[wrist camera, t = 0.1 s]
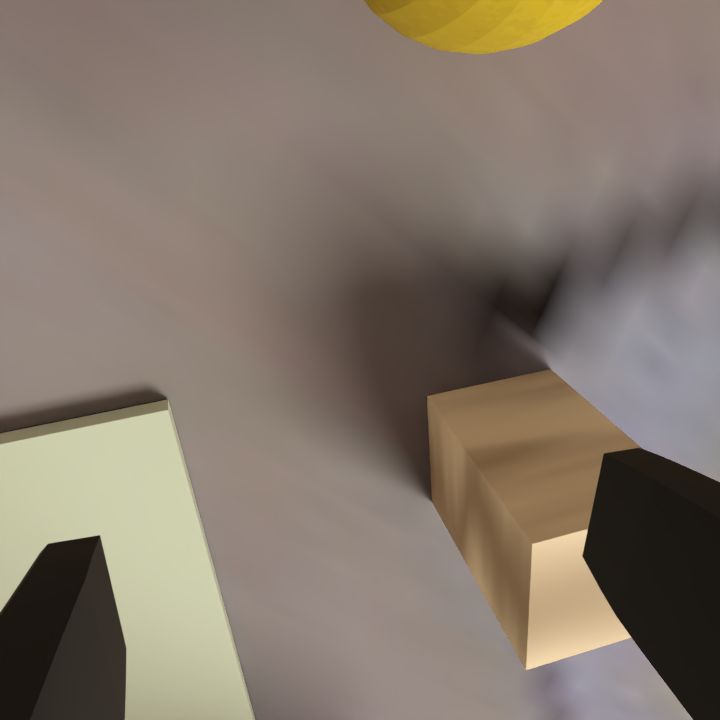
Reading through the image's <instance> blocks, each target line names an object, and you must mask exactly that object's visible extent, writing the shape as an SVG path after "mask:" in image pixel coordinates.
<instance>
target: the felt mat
mask: <svg viewBox="0 0 720 720" xmlns="http://www.w3.org/2000/svg"><path fill="white" fill-rule="evenodd" d="M98 535H100V537H101V541H102V546H103V550H104V554H105V558H106V563H107V567H108V571H109V576H110V580H111V584H112V589H113V593H114V597H115V601H116V606H117V610H118V614H119V619H120V623H121V627H122V632H123V636H124V640H125V644H126V698H125V720H255V717H254V713H253V709H252V706H251V702H250V698H249V695H248V691H247V687H246V684H245V680H244V676H243V673H242V669H241V665H240V662H239V658H238V654H237V651H236V647H235V643H234V640H233V636H232V632H231V629H230V625H229V621H228V618H227V614H226V610H225V607H224V603H223V599H222V595H221V592H220V588H219V584H218V581H217V577H216V573H215V570H214V566H213V562H212V559H211V555H210V551H209V548H208V544H207V540H206V537H205V533H204V529H203V526H202V522H201V518H200V515H199V511H198V507H197V504H196V500H195V496H194V493H193V489H192V485H191V482H190V478H189V474H188V471H187V467H186V463H185V460H184V456H183V452H182V449H181V445H180V441H179V438H178V434H177V430H176V426H175V423H174V419H173V415H172V412H171V408H170V404H169V401H168V400H163V401H158V402H153V403H148V404H143V405H138V406H133V407H128V408H123V409H118V410H114V411H109V412H104V413H99V414H94V415H89V416H84V417H79V418H74V419H69V420H64V421H59V422H54V423H50V424H45V425H40V426H35V427H30V428H25V429H20V430H15V431H10V432H5V433H0V612H1V611H2V609H3V608H4V606H5V605H6V603H7V602H8V600H9V599H10V597H11V596H12V594H13V593H14V591H15V590H16V588H17V587H18V585H19V584H20V582H21V581H22V579H23V578H24V576H25V575H26V573H27V572H28V570H29V569H30V567H31V566H32V564H33V563H34V561H35V560H36V558H37V557H38V555H39V554H40V552H41V551H42V550H43V549H44V548H45V547H46V545H47V544H49V543H55V542H61V541H67V540H74V539H80V538H86V537H92V536H98Z"/></svg>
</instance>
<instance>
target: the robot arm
mask: <svg viewBox="0 0 720 720" xmlns="http://www.w3.org/2000/svg"><path fill="white" fill-rule="evenodd" d="M582 557H583V558H584V560H585V562H586V564H587V566H588V568H589V569H590V571H591V573H592V575H593V577H594V579H595V580H596V582H597V584H598V586H599V588H600V590H601V591H602V593H603V595H604V596H605V598H606V600H607V601H608V603H609V605H610V606H611V608H612V610H613V611H614V613H615V615H616V617H617V618H618V619H619V621H620V622H621V624H622V625H623V626H624V628H625V629H626V630H627V632H628V633H629V635H630V636H631V637H632V639H633V640H634V641H635V643H636V644H637V645H638V647H639V648H640V649H641V651H642V652H643V653H644V655H645V656H646V658H647V659H648V660H649V662H650V663H651V664H652V666H653V667H654V668H655V670H656V671H657V672H658V674H659V675H660V676H661V678H662V679H663V680H664V682H665V683H666V684H667V685H668V687H669V688H670V689H671V691H672V692H673V693H674V695H675V696H676V697H677V699H678V700H679V701H680V703H681V704H682V705H683V707H684V708H685V709H686V711H687V712H688V713H689V715H690V716H691V717H692V719H693V720H720V482H718V481H715V480H713V479H711V478H709V477H707V476H705V475H702V474H700V473H698V472H696V471H694V470H691V469H689V468H687V467H685V466H682V465H680V464H678V463H676V462H673V461H671V460H669V459H666V458H664V457H662V456H659V455H657V454H654V453H652V452H649V451H646V450H644V449H641V448H634V449H628V450H622V451H615V452H609V453H604V455H603V459H602V464H601V469H600V474H599V479H598V483H597V488H596V493H595V498H594V503H593V507H592V512H591V517H590V522H589V527H588V531H587V536H586V541H585V546H584V551H583V555H582ZM125 698H126V644H125V640H124V636H123V632H122V627H121V623H120V619H119V614H118V610H117V606H116V601H115V597H114V593H113V589H112V584H111V580H110V576H109V571H108V567H107V563H106V558H105V554H104V550H103V546H102V541H101V537H100V535H98V536H92V537H86V538H80V539H74V540H67V541H61V542H55V543H49V544H47V545H46V547H45V548H44V549H43V550H42V551H41V552H40V554H39V555H38V557H37V558H36V560H35V561H34V563H33V564H32V566H31V567H30V569H29V570H28V572H27V573H26V575H25V576H24V578H23V579H22V581H21V582H20V584H19V585H18V587H17V588H16V590H15V591H14V593H13V594H12V596H11V597H10V599H9V600H8V602H7V603H6V605H5V606H4V608H3V609H2V611H1V612H0V720H125Z"/></svg>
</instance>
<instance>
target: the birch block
mask: <svg viewBox="0 0 720 720" xmlns="http://www.w3.org/2000/svg"><path fill="white" fill-rule="evenodd" d="M427 408H428V428H429V449H430V470H431V490H432V503H433V504H434V506H435V508H436V510H437V512H438V513H439V515H440V517H441V519H442V520H443V522H444V524H445V526H446V528H447V529H448V531H449V533H450V535H451V537H452V538H453V540H454V542H455V544H456V546H457V547H458V549H459V551H460V553H461V554H462V556H463V558H464V560H465V562H466V563H467V565H468V567H469V569H470V571H471V572H472V574H473V576H474V578H475V580H476V581H477V583H478V585H479V587H480V589H481V590H482V592H483V594H484V596H485V597H486V599H487V601H488V603H489V605H490V606H491V608H492V610H493V612H494V614H495V615H496V617H497V619H498V621H499V623H500V624H501V626H502V628H503V630H504V631H505V633H506V635H507V637H508V639H509V640H510V642H511V644H512V646H513V648H514V649H515V651H516V653H517V655H518V657H519V658H520V660H521V662H522V664H523V665H524V667H525V669H526V670H528V669H531V668H535V667H538V666H541V665H544V664H547V663H551V662H554V661H557V660H560V659H564V658H567V657H570V656H573V655H576V654H580V653H583V652H586V651H589V650H592V649H596V648H599V647H602V646H605V645H609V644H612V643H615V642H618V641H621V640H625V639H628V638H631V636H630V635H629V633H628V632H627V630H626V629H625V628H624V626H623V625H622V624H621V622H620V621H619V619H618V618H617V617H616V615H615V613H614V611H613V610H612V608H611V606H610V605H609V603H608V601H607V600H606V598H605V596H604V595H603V593H602V591H601V590H600V588H599V586H598V584H597V582H596V580H595V579H594V577H593V575H592V573H591V571H590V569H589V568H588V566H587V564H586V562H585V560H584V558H583V557H582V555H583V551H584V546H585V541H586V536H587V531H588V527H589V522H590V517H591V512H592V507H593V503H594V498H595V493H596V488H597V483H598V479H599V474H600V469H601V464H602V459H603V455H604V453H609V452H615V451H622V450H628V449H634V448H641V447H640V446H639V445H637V444H636V443H635V442H634V441H633V440H632V439H631V438H629V437H628V436H627V435H626V434H625V433H624V432H622V431H621V430H620V429H619V428H618V427H617V426H616V425H614V424H613V423H612V422H611V421H610V420H609V419H607V418H606V417H605V416H604V415H603V414H602V413H601V412H599V411H598V410H597V409H596V408H595V407H594V406H592V405H591V404H590V403H589V402H588V401H587V400H586V399H584V398H583V397H582V396H581V395H580V394H579V393H578V392H576V391H575V390H574V389H573V388H572V387H571V386H569V385H568V384H567V383H566V382H565V381H564V380H563V379H561V378H560V377H559V376H558V375H557V374H556V373H554V372H553V371H552V370H551V369H549V370H544V371H540V372H535V373H531V374H526V375H521V376H517V377H512V378H508V379H503V380H499V381H494V382H489V383H485V384H480V385H476V386H471V387H466V388H462V389H457V390H453V391H448V392H444V393H439V394H434V395H430V396H427ZM641 449H642V448H641Z"/></svg>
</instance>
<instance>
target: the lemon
mask: <svg viewBox="0 0 720 720" xmlns="http://www.w3.org/2000/svg"><path fill="white" fill-rule="evenodd" d="M364 1H365V2H366V3H367V5H368V6H369V7H370V9H371V10H372V11H373V12H374V13H375V14H376V15H378V16H379V17H380V18H381V19H383V20H384V21H385V22H386V23H387V24H389V25H390V26H391V27H392V28H394V29H395V30H396V31H397V32H399V33H400V34H401V35H403V36H405V37H408V38H410V39H412V40H415V41H417V42H420V43H422V44H424V45H427V46H429V47H432V48H434V49H437V50H442V51H451V52H461V53H471V54H487V53H492V52H497V51H502V50H507V49H512V48H517V47H522V46H526V45H529V44H532V43H534V42H537V41H539V40H541V39H543V38H545V37H547V36H549V35H551V34H552V33H554V32H556V31H558V30H560V29H562V28H564V27H566V26H568V25H570V24H572V23H573V22H575V21H577V20H579V19H580V18H582V17H583V16H585V15H586V14H587V13H589V12H590V11H591V10H593V9H594V8H595V7H596V6H597V5H598V4H599V3H601V2H602V1H603V0H364Z"/></svg>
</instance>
